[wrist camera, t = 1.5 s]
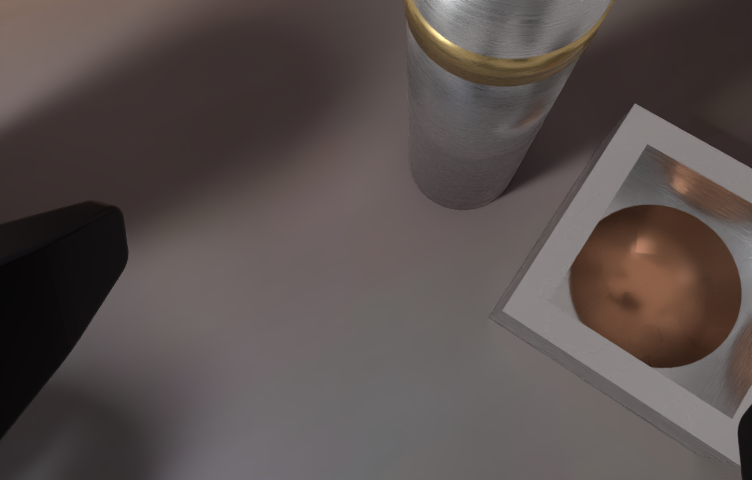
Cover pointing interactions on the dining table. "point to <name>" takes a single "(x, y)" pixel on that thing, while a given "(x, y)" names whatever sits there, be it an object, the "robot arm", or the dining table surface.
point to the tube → (486, 87)
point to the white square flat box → (650, 283)
